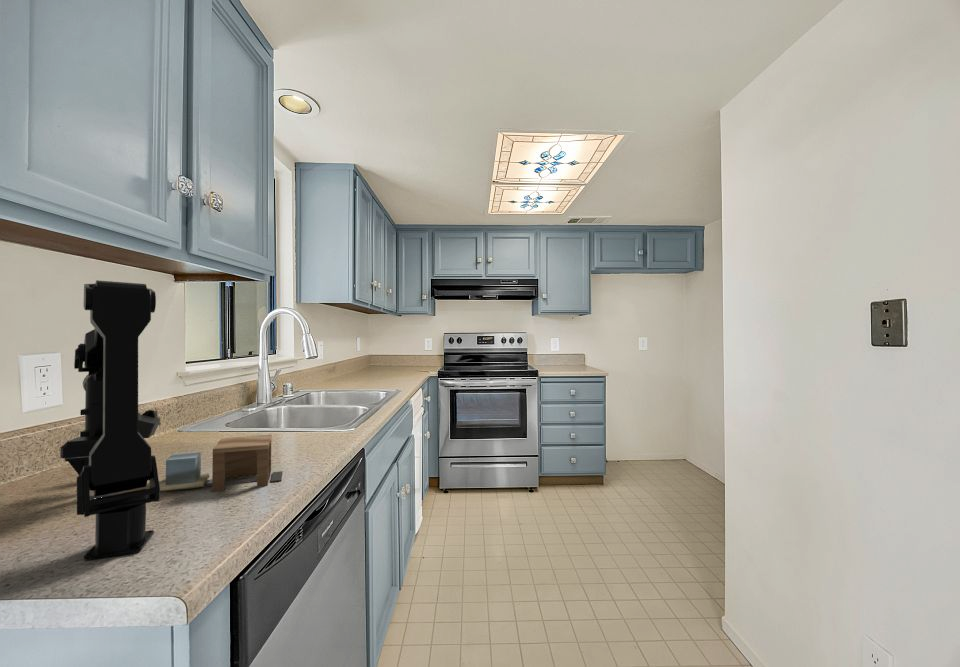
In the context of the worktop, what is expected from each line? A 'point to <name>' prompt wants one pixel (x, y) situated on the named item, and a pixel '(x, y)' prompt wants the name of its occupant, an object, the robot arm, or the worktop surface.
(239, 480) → the rail
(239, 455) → the tunnel
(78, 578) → the worktop surface
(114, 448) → the robot arm
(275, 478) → the grey flat block
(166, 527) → the worktop surface
